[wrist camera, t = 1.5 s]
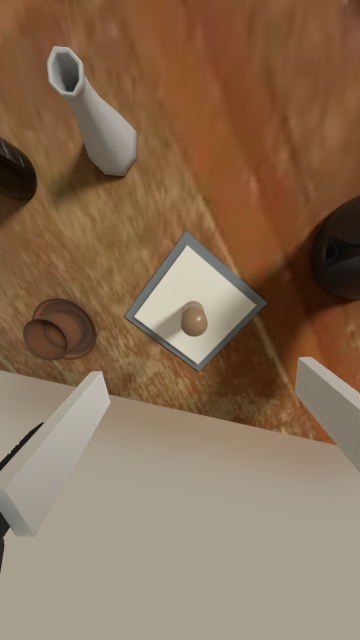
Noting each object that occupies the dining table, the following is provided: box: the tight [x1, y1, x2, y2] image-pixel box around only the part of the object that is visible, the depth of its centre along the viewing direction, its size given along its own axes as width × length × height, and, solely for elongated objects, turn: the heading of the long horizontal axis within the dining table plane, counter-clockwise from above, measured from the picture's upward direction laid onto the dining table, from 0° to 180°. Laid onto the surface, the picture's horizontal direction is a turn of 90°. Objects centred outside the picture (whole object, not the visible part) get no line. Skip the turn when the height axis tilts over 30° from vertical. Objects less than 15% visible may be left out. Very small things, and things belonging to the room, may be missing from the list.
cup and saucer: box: [23, 298, 97, 360], centre depth 31 cm, size 12×12×6 cm
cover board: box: [134, 245, 256, 364], centre depth 27 cm, size 15×15×8 cm
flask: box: [47, 46, 137, 176], centre depth 20 cm, size 7×7×10 cm
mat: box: [124, 232, 267, 371], centre depth 31 cm, size 18×18×1 cm
